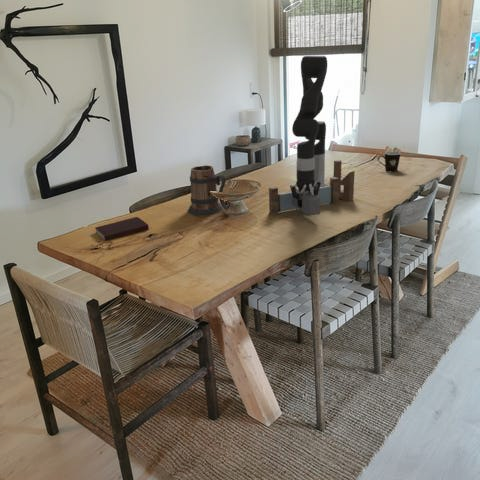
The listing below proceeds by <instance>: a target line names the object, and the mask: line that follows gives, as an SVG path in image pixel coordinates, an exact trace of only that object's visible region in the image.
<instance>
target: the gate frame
mask: <svg viewBox="0 0 480 480" xmlns="http://www.w3.org/2000/svg"><path fill="white" fill-rule="evenodd" d="M329 186H331V203H330V204H331V205H336V204H339V200H340V199H339V178H337V177H333V176H332V177H330V178H329ZM278 194H279V188H278V187H277V186H269V187H268V204H269V209H268V210H269V214H270V213H271V214H270V215H272V216H274V214H275V215H279V212H278Z"/></svg>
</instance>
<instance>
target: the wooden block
mask: <svg viewBox="0 0 480 480" xmlns="http://www.w3.org/2000/svg"><path fill="white" fill-rule="evenodd" d="M342 165H343V163H342V160H341V159H335V160H333V176H332V177H337V178H339V200H343V201H345V202H351V201H353V200H354V192H355V188H354V187H355V170H353V171H350V172H349V173H347V174H346V176H345V177H343V178H342ZM342 186H343V189H342Z"/></svg>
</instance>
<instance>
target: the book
mask: <svg viewBox="0 0 480 480" xmlns="http://www.w3.org/2000/svg"><path fill="white" fill-rule="evenodd" d="M94 229H95V234H97V235H98V236H99V237H101V238H102V239H103V240H104V241H105V242H107V241H111V240H114V239H118V238H121V237H126V236H129V235H134V234H137V233H141V232H145V231H149V229H150V227H149V224H148V223H147V222H146V221H144V220H142V219H141V218H140V217H138V216H136V217H131V218H127V219H124V220H119V221H116V222H111V223H107V224H103V225H100V226H96V227H95V228H94Z"/></svg>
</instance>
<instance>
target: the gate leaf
mask: <svg viewBox="0 0 480 480" xmlns="http://www.w3.org/2000/svg"><path fill="white" fill-rule="evenodd" d="M313 190H314V188H313ZM307 192H308V191H307ZM316 197H318V198H319V206H321V205H327V204H331V186H330V185H327V186H323V187H320V188H319V192H318V195H317V196H316ZM293 210H298V208H297V207H295V206H293V205H292V192H291V191H289V192H284V193H278V213H281V212H285V211H286V212H287V211H293Z"/></svg>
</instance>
